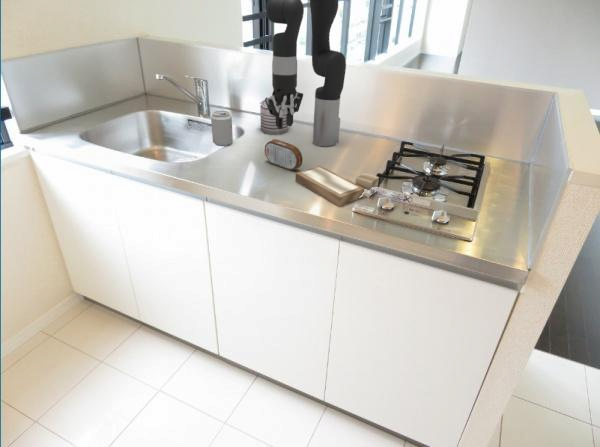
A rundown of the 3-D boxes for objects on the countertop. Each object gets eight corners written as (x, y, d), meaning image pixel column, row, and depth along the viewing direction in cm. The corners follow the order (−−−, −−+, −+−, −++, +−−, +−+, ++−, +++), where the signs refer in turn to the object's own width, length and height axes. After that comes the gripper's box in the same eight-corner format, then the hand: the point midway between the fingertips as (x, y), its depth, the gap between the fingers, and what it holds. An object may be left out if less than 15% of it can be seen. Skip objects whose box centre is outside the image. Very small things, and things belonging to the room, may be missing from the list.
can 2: (280, 126, 178) (280, 98, 171) (293, 134, 169) (294, 105, 163) (255, 130, 172) (255, 100, 166) (268, 138, 164) (267, 108, 158)
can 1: (229, 148, 154) (227, 116, 148) (209, 145, 155) (207, 114, 149) (235, 141, 160) (234, 110, 154) (217, 139, 161) (215, 108, 155)
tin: (302, 171, 138) (304, 147, 134) (296, 174, 136) (297, 149, 132) (269, 159, 146) (269, 136, 142) (263, 161, 144) (263, 138, 140)
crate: (362, 187, 130) (364, 172, 127) (376, 192, 127) (379, 177, 125) (354, 192, 126) (356, 177, 124) (368, 197, 124) (371, 182, 121)
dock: (319, 174, 137) (319, 165, 135) (363, 197, 124) (364, 187, 122) (295, 181, 131) (295, 172, 130) (339, 206, 118) (339, 196, 116)
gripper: (295, 66, 131) (294, 119, 140) (258, 71, 124) (259, 127, 133) (310, 70, 126) (308, 125, 136) (273, 76, 119) (273, 134, 128)
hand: (284, 126), depth 134 cm, fingers open, 3 cm apart
